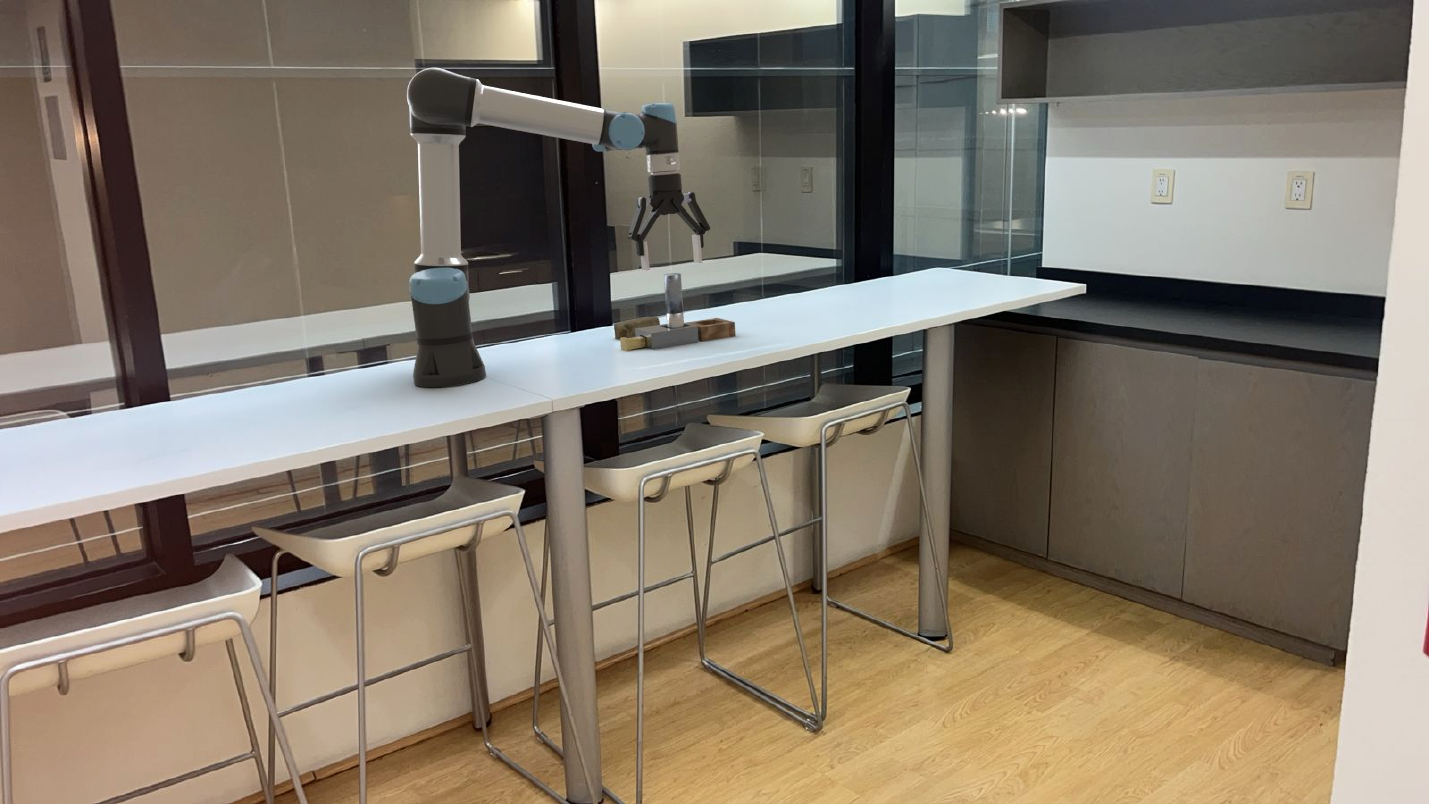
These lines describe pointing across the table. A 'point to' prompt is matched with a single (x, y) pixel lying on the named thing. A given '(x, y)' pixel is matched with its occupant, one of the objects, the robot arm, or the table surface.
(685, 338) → the socket
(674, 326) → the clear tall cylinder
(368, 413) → the table surface
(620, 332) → the stone block
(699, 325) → the brown wooden open box
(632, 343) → the tan wooden bar
